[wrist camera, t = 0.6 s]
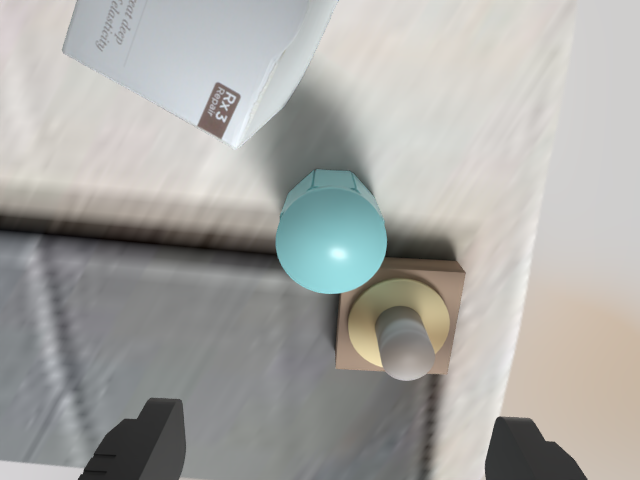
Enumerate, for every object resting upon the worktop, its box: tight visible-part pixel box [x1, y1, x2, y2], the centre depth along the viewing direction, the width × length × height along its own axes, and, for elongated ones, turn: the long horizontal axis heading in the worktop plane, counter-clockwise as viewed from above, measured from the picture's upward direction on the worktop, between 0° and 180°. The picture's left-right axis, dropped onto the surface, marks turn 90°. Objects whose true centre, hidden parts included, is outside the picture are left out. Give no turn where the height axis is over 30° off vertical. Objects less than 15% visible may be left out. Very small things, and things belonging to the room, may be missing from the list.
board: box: [335, 257, 466, 380], centre depth 28 cm, size 8×8×6 cm
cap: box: [276, 169, 387, 294], centre depth 26 cm, size 6×6×6 cm
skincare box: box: [62, 0, 339, 149], centre depth 18 cm, size 8×6×15 cm
